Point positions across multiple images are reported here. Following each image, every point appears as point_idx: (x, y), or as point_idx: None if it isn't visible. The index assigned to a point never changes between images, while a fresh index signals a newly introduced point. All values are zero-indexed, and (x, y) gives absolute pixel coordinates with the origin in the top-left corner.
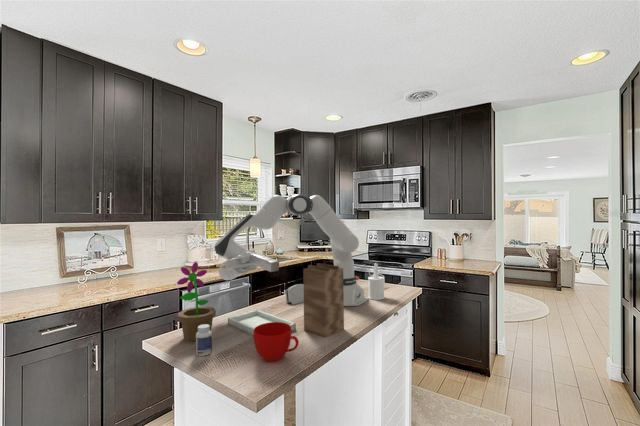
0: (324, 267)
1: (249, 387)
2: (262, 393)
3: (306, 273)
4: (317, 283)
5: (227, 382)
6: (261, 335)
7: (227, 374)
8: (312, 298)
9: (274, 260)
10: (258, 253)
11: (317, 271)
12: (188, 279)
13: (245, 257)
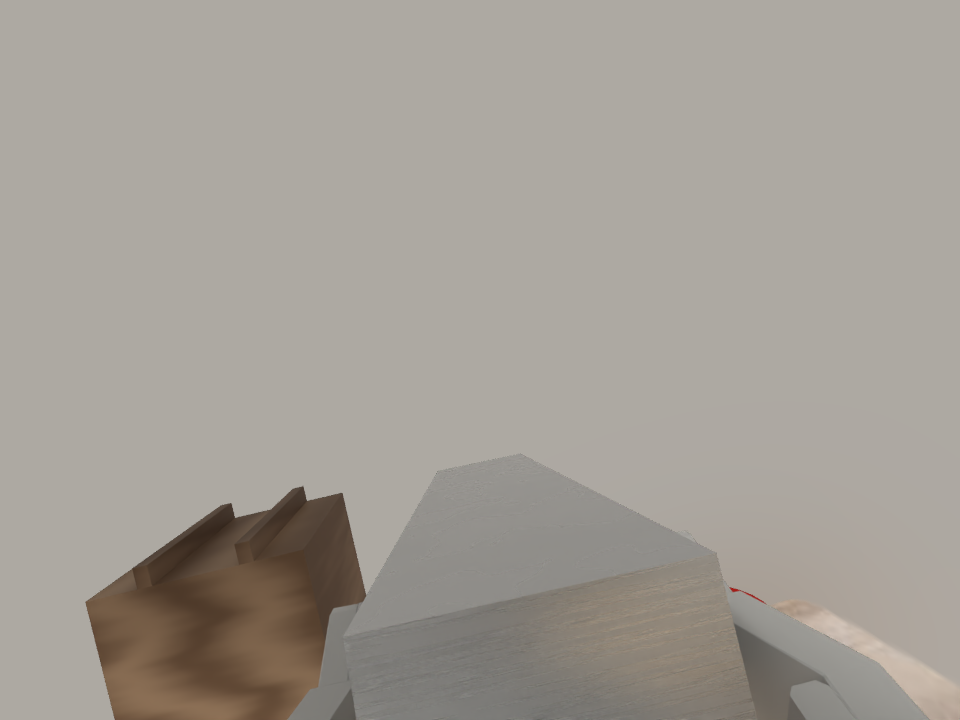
0: (288, 496)
1: (818, 630)
2: (778, 606)
3: (318, 565)
4: (348, 573)
5: (906, 664)
6: (748, 594)
7: (923, 702)
8: None
9: (459, 470)
10: (428, 523)
11: (333, 507)
12: None
13: (738, 592)
